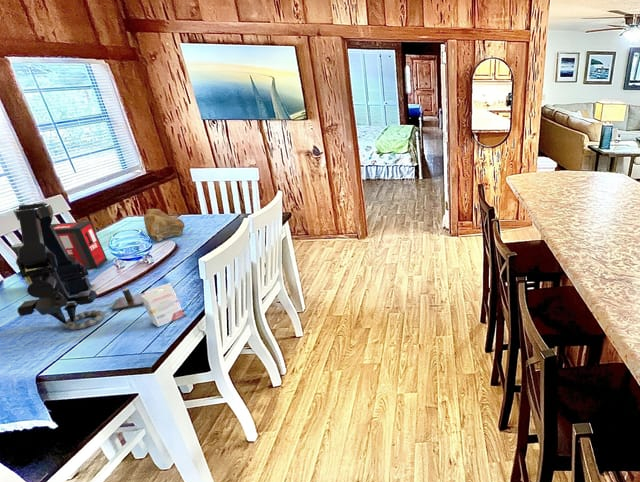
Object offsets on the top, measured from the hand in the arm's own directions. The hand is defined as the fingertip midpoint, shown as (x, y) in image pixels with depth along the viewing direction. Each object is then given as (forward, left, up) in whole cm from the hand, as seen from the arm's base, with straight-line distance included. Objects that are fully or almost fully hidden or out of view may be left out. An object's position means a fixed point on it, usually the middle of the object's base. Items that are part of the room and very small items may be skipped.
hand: (69, 322), depth 138 cm
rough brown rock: (+16, +82, -1) cm, 84 cm away
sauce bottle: (-20, +38, -1) cm, 43 cm away
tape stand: (+15, +9, -1) cm, 18 cm away
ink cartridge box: (+30, -11, -1) cm, 32 cm away
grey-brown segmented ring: (+4, 0, 0) cm, 4 cm away
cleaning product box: (-13, +56, -1) cm, 57 cm away
